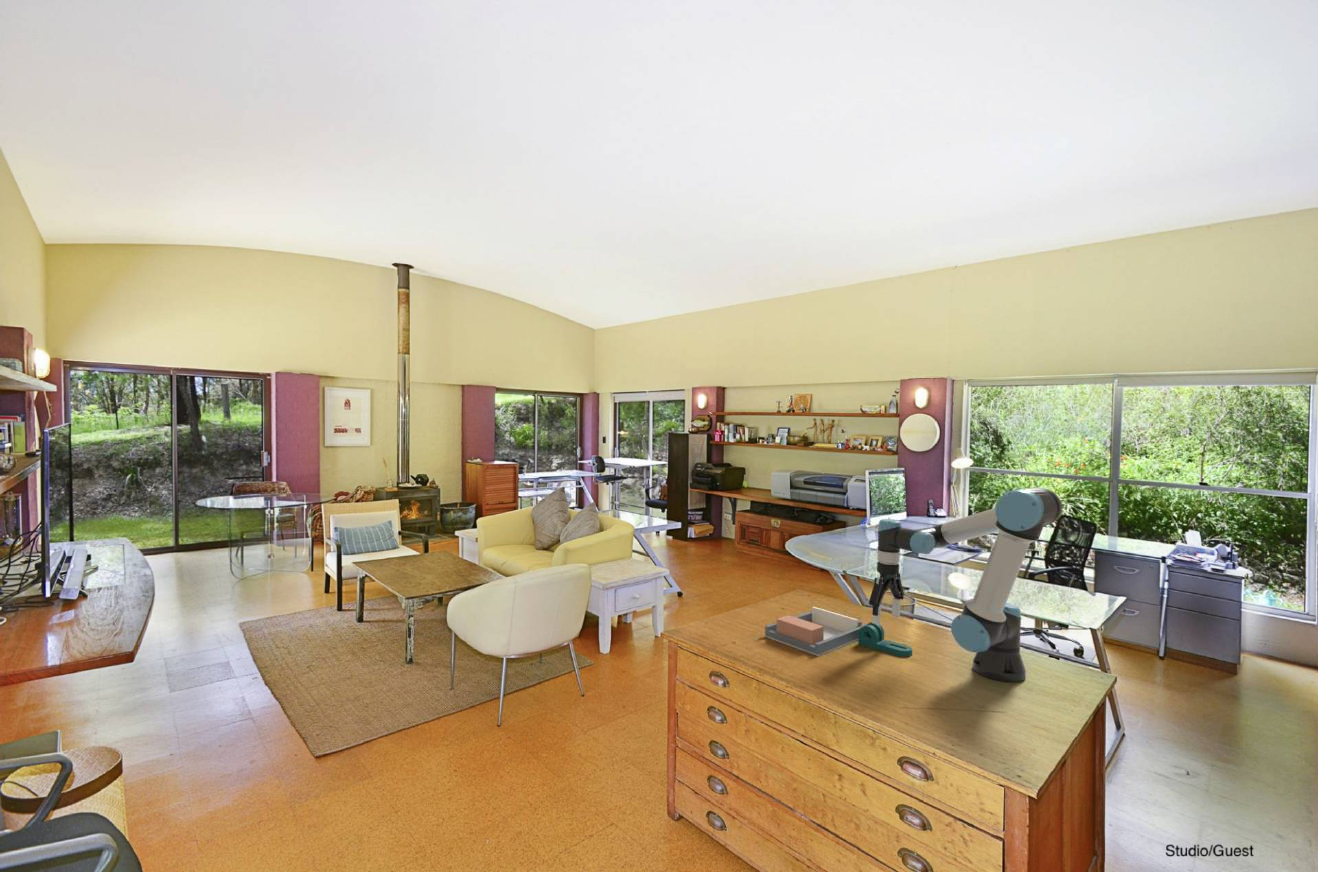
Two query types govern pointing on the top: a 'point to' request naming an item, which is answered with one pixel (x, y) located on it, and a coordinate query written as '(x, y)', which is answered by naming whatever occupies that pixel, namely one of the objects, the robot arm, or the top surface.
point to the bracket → (881, 641)
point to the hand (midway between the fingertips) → (886, 620)
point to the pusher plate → (833, 620)
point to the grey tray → (830, 642)
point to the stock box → (800, 629)
